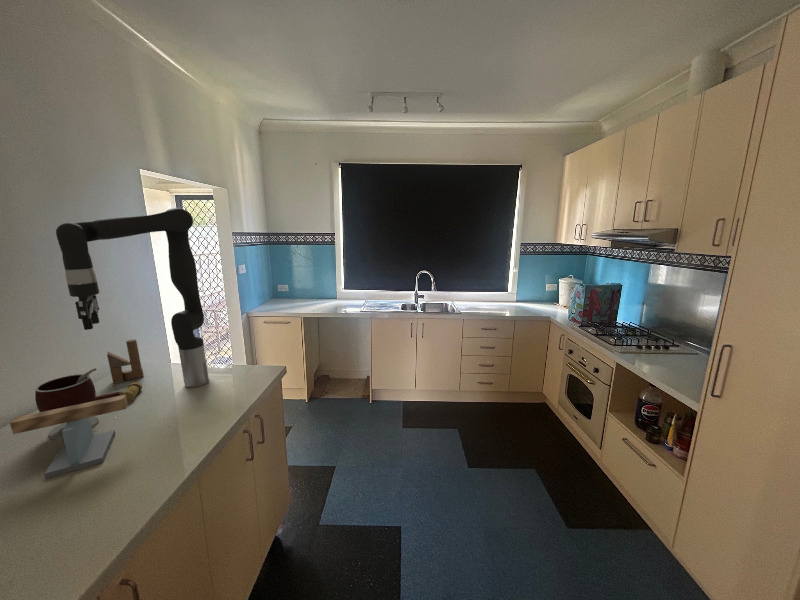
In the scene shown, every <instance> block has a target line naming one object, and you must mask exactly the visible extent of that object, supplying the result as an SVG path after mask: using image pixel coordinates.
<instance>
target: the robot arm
mask: <svg viewBox="0 0 800 600" xmlns="http://www.w3.org/2000/svg"><path fill="white" fill-rule="evenodd" d="M193 224H194V219H193V216H192V214H191V213H190V212H189V211H188V210H186V209H183V208H182V207H181V208H180V207H172V208H169V209H167V210H165V211H163V212H160V213H154V214H148V215H137V216H121V217H111V218H110V217H109V218H104V219H96V220H93V221H85V222H84V221H83V222H73V223H72V222H65V223H62V224H60V225H59V226H58V227H57V228H56V230H55V234H56V238H57V241H58V246H59V248H60V252H61V254H62V255H61V256H62V261H63V267H64V272H65V273H64V274H65V281H66V285H67V289H68V293H69V296H70V297H73V298H78V301H77V300H76V301H75V302H74V304H75V307H76V313H77V317H78V319H79V320H81V321H82V325H83V329H84V330H85V331H87V330H88V331H89V330H92V329H94V325H95V324H100V318H99V314H98V313H99V311H100V307H99V303H98V299H97V295H98V294H100V289H99V284H98V280H97V279H98V278H97V276H96V273H95V270H94V265H93V261H92V257H91V255H90V253H89V246H88V244H89V242H94V241H100V240H103V241H105V240H113V239H120V238H126V237H133V236H138V235H141V234H148V233H149V234H150V233H156V232H165V235H166V238H167V239H166V240H167V243H168V244H167V245H168V263H169V264H168V265H169V275H170V279H171V280H170V281H171V282H172V284H173V286H174V287H175V288H176V289H177V291H178V293H179V294H180V295H181V297H182V299H183V305H184V310H182V311H179V312H176V313H174V314H173V315H172V317H171V322H170V323H171V330H172V334H173V339H174V341H175V344H176V345H177V347H178V353H179V360H180V366H181V372H182V377H183V383H184V387H185V388H196V387H201V386H203V385H206V384H209V383H210V380H209V379H210V376H209V370H208V364H207V359H206V353H205V346H204V344H205V343H204V339H203V338H202V337H200V336H196V335H195V332H194V331H195V330H197V329H199V328H201V327H202V326H203V325H204V324H205V323H204V322H205V317H204V312H203V311H204V310H203V307H202V302H201V297H200V291H199V284H198V273H197V265H196V259H195V257H194V255H193V251H192V249H191V246H190V242H189V241H190V240H189V238H190V237H189V229H191V228H192V226H193Z"/></svg>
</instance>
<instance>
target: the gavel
mask: <svg viewBox="0 0 800 600" xmlns="http://www.w3.org/2000/svg"><path fill="white" fill-rule="evenodd" d="M142 389H143V385H142V383H140V382H138V381H134V382H132V383H130V384H129V385H128V386H127V389H125V390H124V391H119V392H117V391H116V392H112V393H108V394H107V393H106V394H102V395H97V396H96V399H95V401H97V400H102V399H106V398H111V397H116V396H121V395H126V398H127V403H130V402H133V401H135V398H136V396H137V395H138V392H139V393H140V392H141V391H142Z"/></svg>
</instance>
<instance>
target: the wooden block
mask: <svg viewBox="0 0 800 600" xmlns="http://www.w3.org/2000/svg"><path fill="white" fill-rule="evenodd" d="M125 343H126V348H127V353H128V358H129V360H127V359H125V358H123V357H121V356H119V355H116V354H114V353H112V352H110V351H107V352H106V355H107V356H106V357H107V360H108V365H109V369H110V376H111V378H112V384H117V383H116V382H118V383H122V382H124V379H125V380H127V381H129V380H130V379H131V380H135V379H139V378H143V377H144V370H143V367H142V363H141V358H140V353H139V348H138V347H139V346H138V343H137V339H135V338H134V339H133V338H132V339H128V340H126V342H125ZM124 366H130V369H128V370H125V371H124V370H123V369H122V367H124ZM121 381H122V382H121Z"/></svg>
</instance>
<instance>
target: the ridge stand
mask: <svg viewBox="0 0 800 600" xmlns="http://www.w3.org/2000/svg"><path fill="white" fill-rule="evenodd" d="M62 434H63V442H64V443H63V444H62V446H61V448H60V449H59V450H58V452H57V453H56V454H55V456H54V458H53V459H52V461H51V462H50V464H49V466H48V468H46V469H45V472H44V473H43V476H44V478H45V479H48V478H52V477H56V476H59V475H62V474H66V473H70V472H73V471H77V470H81V469H84V468H87V467H92V466H95V465H98V464H102V463H104V461H105V459H106V456H107V454H108V452H109V450H110V447H111V445H112V443H113V440H114V437H115V435H116V430H115V429H112V430H108V431H104V432H99V433H96V434H94V432H93V428H92V427H91V423H90V418H84V419H80V420H75V421H71V422H68V424H67V425H66V427H65V428H64V429H63V431H62Z"/></svg>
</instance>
